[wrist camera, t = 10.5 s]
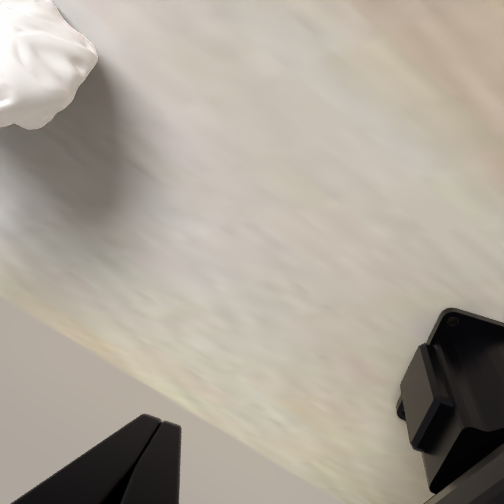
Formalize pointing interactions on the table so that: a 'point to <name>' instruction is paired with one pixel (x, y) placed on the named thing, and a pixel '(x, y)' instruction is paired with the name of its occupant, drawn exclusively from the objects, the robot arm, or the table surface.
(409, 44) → the table surface
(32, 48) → the bust
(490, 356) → the robot arm
